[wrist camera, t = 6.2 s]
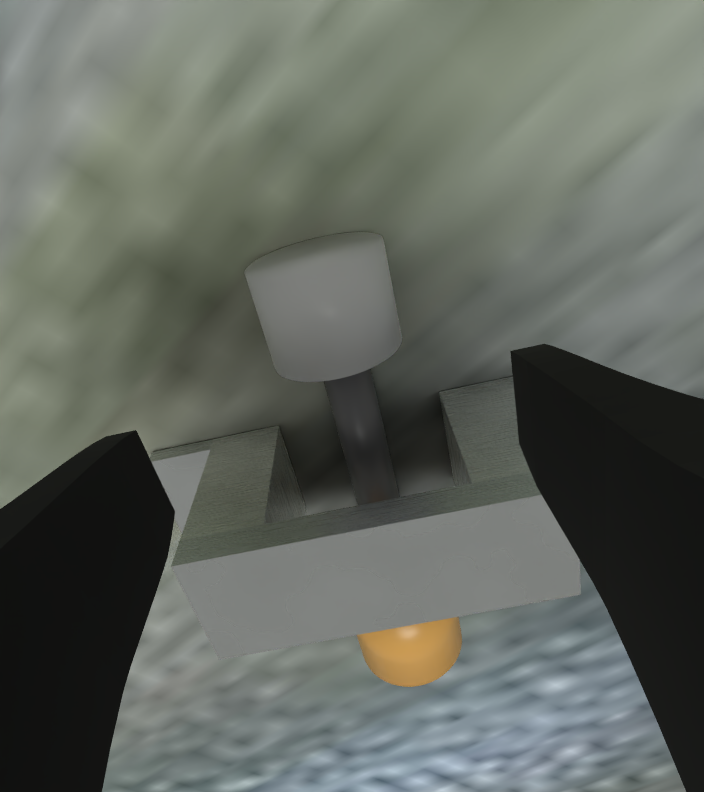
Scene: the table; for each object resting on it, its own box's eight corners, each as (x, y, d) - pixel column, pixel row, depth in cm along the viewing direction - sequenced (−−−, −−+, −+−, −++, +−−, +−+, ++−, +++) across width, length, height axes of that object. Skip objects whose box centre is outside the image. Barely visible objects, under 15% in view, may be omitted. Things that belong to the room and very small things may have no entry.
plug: (251, 252, 18) (228, 295, 14) (382, 222, 17) (393, 257, 14) (360, 606, 25) (364, 694, 22) (452, 591, 25) (471, 677, 21)
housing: (152, 452, 21) (87, 582, 15) (574, 363, 20) (671, 469, 14) (190, 530, 23) (144, 673, 17) (577, 454, 22) (664, 579, 16)
